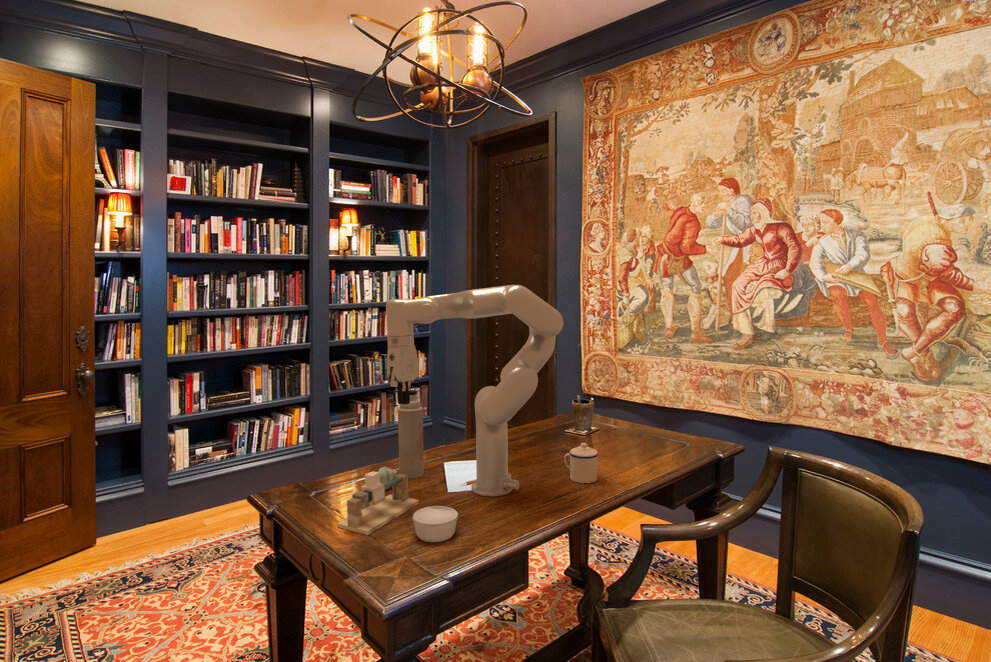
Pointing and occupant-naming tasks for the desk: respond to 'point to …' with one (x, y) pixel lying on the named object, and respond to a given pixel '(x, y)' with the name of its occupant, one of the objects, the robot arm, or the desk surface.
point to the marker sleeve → (374, 487)
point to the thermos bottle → (411, 437)
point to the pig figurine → (386, 474)
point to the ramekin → (435, 523)
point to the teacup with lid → (582, 464)
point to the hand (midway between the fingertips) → (403, 403)
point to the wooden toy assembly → (377, 507)
